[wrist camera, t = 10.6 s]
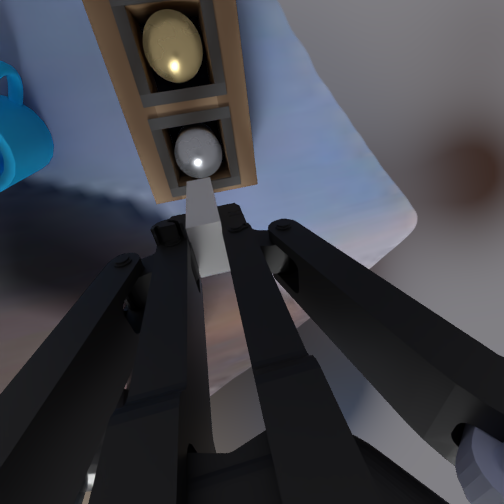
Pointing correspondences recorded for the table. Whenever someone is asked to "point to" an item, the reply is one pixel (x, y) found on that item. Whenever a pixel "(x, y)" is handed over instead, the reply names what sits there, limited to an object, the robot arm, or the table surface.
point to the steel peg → (197, 150)
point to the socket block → (178, 90)
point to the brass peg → (172, 46)
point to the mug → (20, 134)
